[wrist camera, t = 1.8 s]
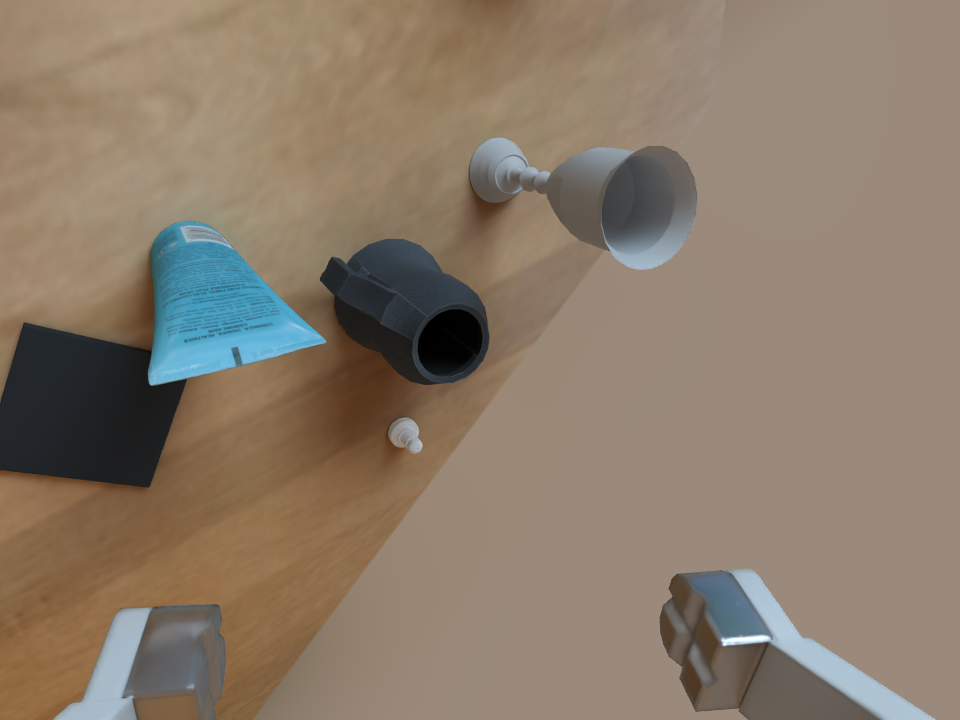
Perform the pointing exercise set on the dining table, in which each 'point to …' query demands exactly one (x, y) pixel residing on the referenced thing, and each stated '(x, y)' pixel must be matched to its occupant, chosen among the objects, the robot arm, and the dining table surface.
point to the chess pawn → (405, 435)
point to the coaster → (83, 409)
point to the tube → (214, 308)
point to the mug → (409, 311)
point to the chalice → (602, 196)
